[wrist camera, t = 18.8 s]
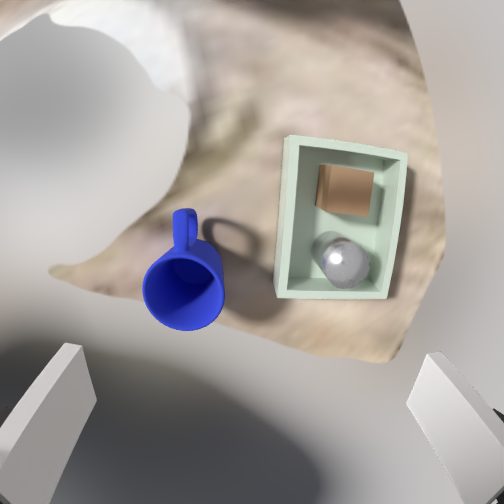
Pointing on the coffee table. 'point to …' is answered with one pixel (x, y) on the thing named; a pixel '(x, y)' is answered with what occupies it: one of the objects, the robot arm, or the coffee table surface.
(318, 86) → the coffee table surface
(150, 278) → the mug
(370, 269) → the tote
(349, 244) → the canister
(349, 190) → the walnut block
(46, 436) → the robot arm
